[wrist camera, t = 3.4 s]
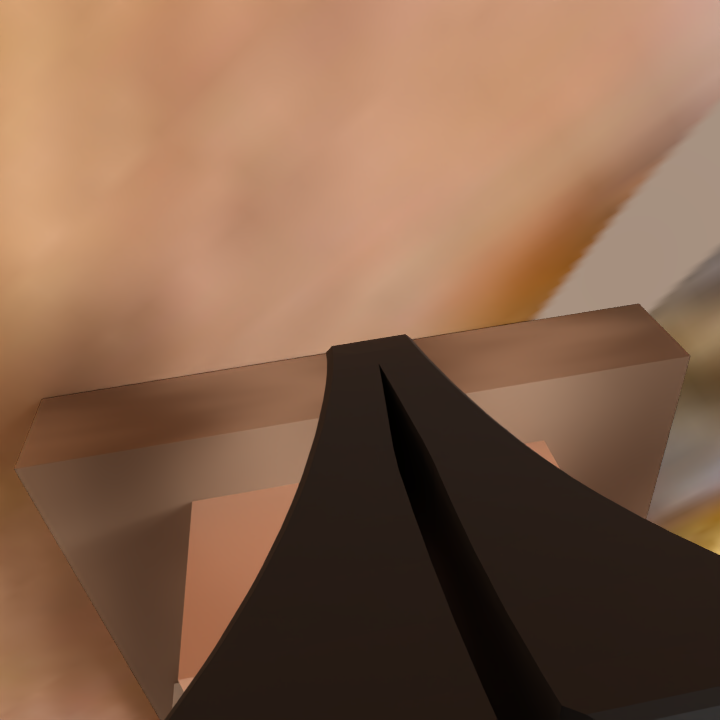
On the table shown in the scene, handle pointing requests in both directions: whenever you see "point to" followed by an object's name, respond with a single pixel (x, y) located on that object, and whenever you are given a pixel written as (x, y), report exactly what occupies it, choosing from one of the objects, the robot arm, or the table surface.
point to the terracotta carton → (233, 562)
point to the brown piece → (293, 443)
